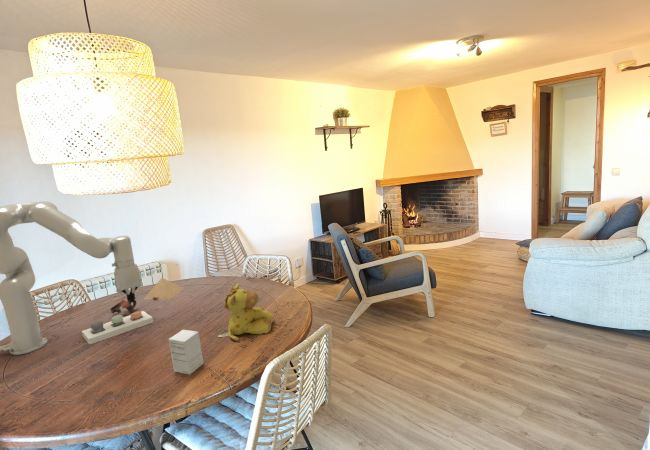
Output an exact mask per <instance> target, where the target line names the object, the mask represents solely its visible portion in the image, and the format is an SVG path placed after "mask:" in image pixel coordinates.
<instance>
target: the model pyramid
mask: <svg viewBox="0 0 650 450" xmlns="http://www.w3.org/2000/svg"><path fill="white" fill-rule="evenodd" d="M185 289H186V288H185V287H183V286H181V285H179V284H177V283H174V282H172V281H169V280H167V279H165V278H164V277H161V278H160V279H159V281H158V282H156V284H155V285H154V286H153V287H152V288H151V289H150V290H149V292H147V294H146V295H145V296H144V297H143V300H153V301H155V300H157V301H158V300H170V299H172V298H173V297H174V296H176V295H178V294H179V293H181V292H182V291H183V290H185Z"/></svg>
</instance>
